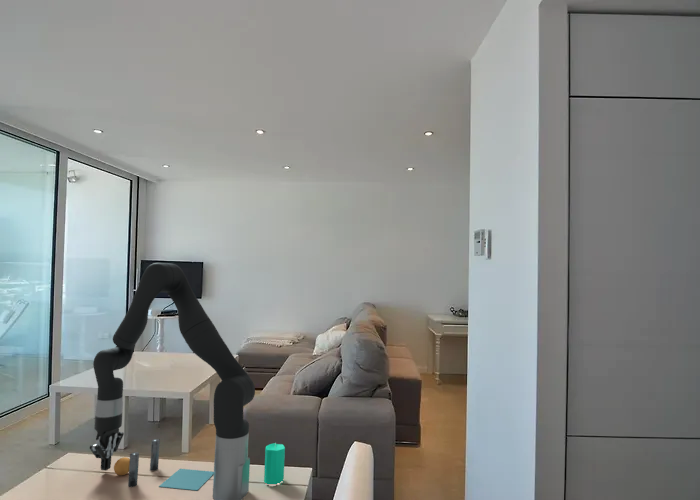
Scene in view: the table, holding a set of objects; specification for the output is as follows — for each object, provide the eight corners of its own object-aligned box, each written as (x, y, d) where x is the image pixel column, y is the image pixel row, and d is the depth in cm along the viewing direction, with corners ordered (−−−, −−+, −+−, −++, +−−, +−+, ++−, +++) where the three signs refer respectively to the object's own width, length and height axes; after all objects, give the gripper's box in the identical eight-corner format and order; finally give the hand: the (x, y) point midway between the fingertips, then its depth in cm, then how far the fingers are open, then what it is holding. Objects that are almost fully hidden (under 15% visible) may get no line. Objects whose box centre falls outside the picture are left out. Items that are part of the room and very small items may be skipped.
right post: (159, 467, 138) (161, 439, 139) (155, 471, 136) (157, 442, 137) (152, 467, 139) (154, 438, 139) (148, 470, 136) (150, 441, 137)
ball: (121, 453, 136) (119, 469, 136) (111, 460, 131) (109, 476, 131) (136, 456, 135) (134, 472, 135) (126, 462, 131) (124, 479, 130)
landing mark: (215, 472, 136) (215, 471, 136) (197, 490, 124) (197, 490, 124) (180, 469, 138) (180, 468, 138) (158, 486, 126) (158, 486, 126)
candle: (279, 487, 128) (281, 446, 129) (260, 485, 129) (262, 444, 130) (286, 478, 134) (288, 439, 134) (268, 476, 135) (270, 437, 136)
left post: (138, 483, 128) (140, 452, 128) (133, 487, 125) (135, 455, 126) (131, 482, 128) (133, 451, 129) (126, 486, 126) (128, 455, 126)
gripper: (105, 420, 128) (101, 480, 127) (133, 407, 141) (130, 461, 140) (82, 418, 129) (78, 478, 128) (112, 405, 142) (109, 459, 141)
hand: (105, 469), depth 134 cm, fingers closed
